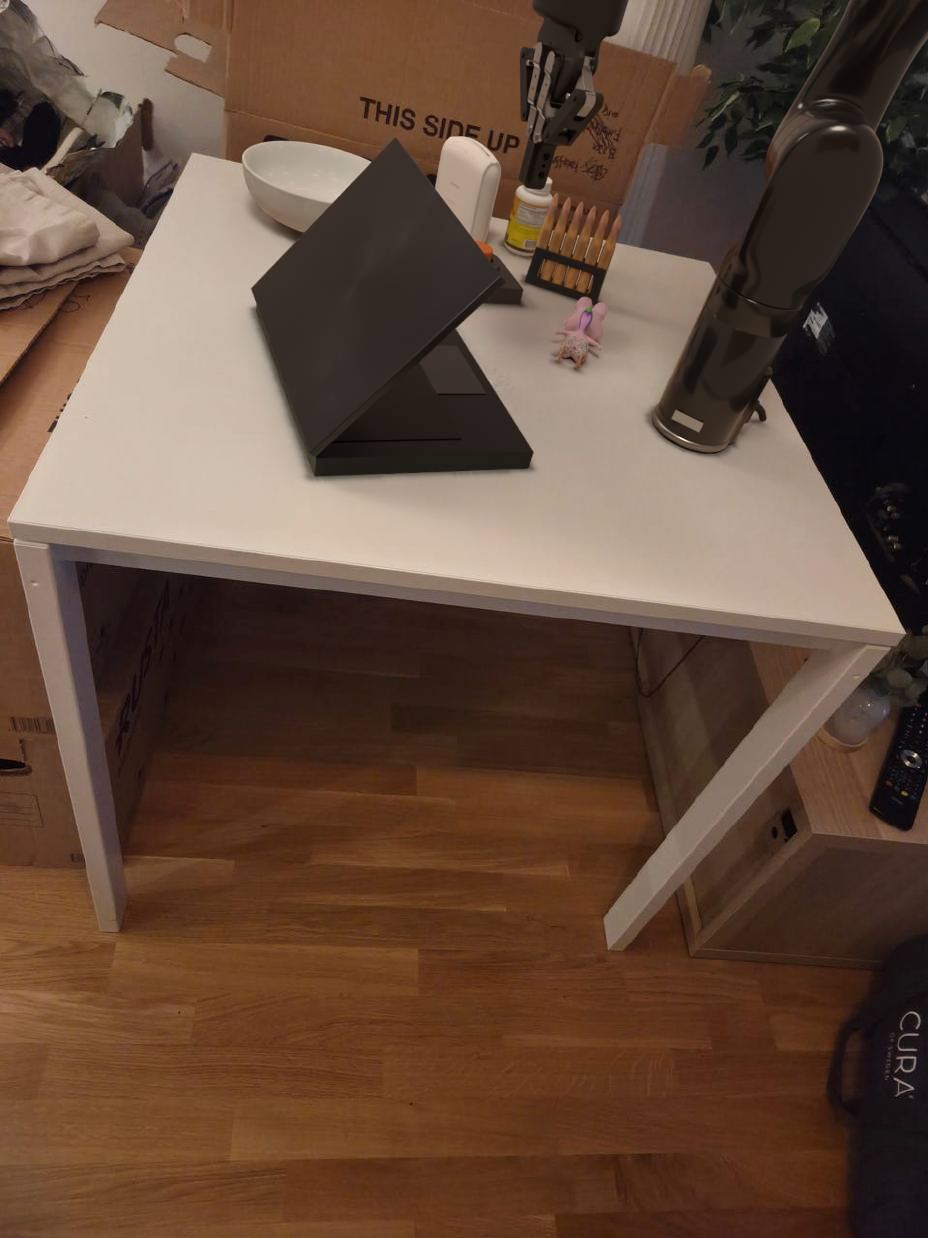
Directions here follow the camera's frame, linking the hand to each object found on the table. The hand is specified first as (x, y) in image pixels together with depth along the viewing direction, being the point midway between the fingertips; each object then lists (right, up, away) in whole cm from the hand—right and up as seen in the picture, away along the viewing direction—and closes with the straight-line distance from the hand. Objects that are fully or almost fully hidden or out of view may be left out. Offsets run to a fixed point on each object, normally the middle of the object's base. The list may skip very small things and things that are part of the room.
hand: (530, 185), depth 73 cm
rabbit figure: (+8, -5, +28) cm, 30 cm away
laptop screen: (-16, -9, +2) cm, 18 cm away
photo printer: (-7, +17, +44) cm, 48 cm away
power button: (-5, +7, +30) cm, 31 cm away
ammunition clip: (+7, +6, +38) cm, 39 cm away
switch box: (-5, +4, +32) cm, 33 cm away
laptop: (-15, -15, +11) cm, 24 cm away
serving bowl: (-26, +14, +35) cm, 46 cm away
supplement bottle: (+2, +15, +45) cm, 48 cm away
